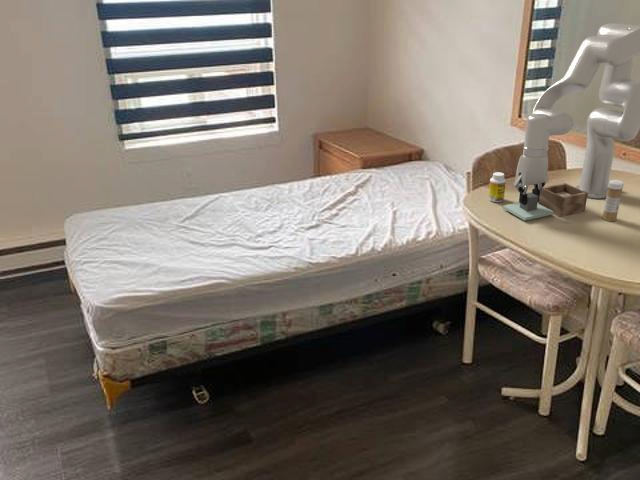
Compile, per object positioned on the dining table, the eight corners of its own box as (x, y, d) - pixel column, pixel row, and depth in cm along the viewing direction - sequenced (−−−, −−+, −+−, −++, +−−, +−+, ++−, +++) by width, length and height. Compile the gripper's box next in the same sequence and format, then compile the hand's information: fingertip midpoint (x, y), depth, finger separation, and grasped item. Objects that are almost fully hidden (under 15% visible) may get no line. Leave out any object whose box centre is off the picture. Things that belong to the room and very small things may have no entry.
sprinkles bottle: (608, 215, 202) (615, 178, 197) (619, 220, 199) (627, 182, 193) (598, 218, 201) (605, 180, 195) (610, 223, 197) (617, 185, 191)
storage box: (562, 201, 215) (565, 183, 212) (584, 211, 206) (587, 192, 203) (537, 206, 212) (540, 187, 209) (559, 217, 203) (562, 198, 200)
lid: (530, 205, 214) (532, 186, 211) (553, 216, 204) (555, 198, 200) (502, 210, 210) (504, 192, 207) (524, 223, 200) (526, 204, 197)
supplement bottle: (496, 204, 215) (499, 177, 211) (485, 199, 219) (487, 173, 215) (507, 200, 218) (509, 174, 213) (495, 196, 222) (497, 170, 218)
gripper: (547, 145, 203) (541, 194, 211) (506, 152, 197) (501, 202, 205) (563, 151, 196) (555, 201, 204) (521, 158, 191) (515, 210, 199)
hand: (528, 201), depth 205 cm, fingers open, 4 cm apart
